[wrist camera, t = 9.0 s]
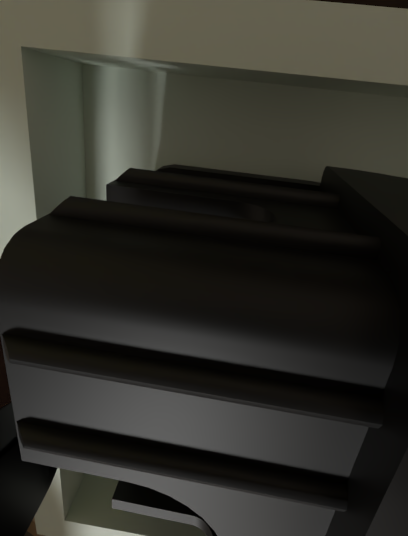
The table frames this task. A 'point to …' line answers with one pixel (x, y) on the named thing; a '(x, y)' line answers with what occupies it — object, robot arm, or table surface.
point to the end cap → (220, 348)
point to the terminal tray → (186, 124)
